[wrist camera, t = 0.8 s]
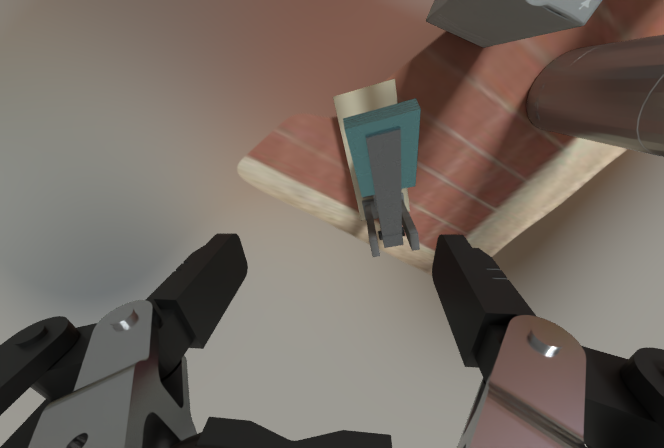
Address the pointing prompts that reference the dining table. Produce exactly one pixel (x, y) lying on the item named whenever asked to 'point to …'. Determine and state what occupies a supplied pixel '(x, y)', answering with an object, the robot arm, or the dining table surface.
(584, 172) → the dining table surface
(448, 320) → the robot arm
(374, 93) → the cracker base
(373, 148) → the lever
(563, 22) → the skincare box
